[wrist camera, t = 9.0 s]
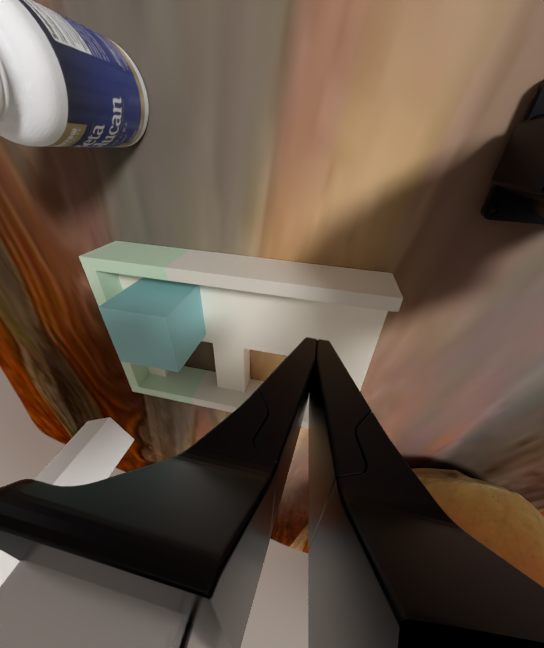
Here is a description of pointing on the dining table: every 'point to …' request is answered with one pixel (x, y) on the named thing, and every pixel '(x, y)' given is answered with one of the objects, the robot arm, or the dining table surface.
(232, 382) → the box
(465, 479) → the ceramic pitcher
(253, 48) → the dining table surface
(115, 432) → the milk
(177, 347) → the block
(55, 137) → the pill bottle
